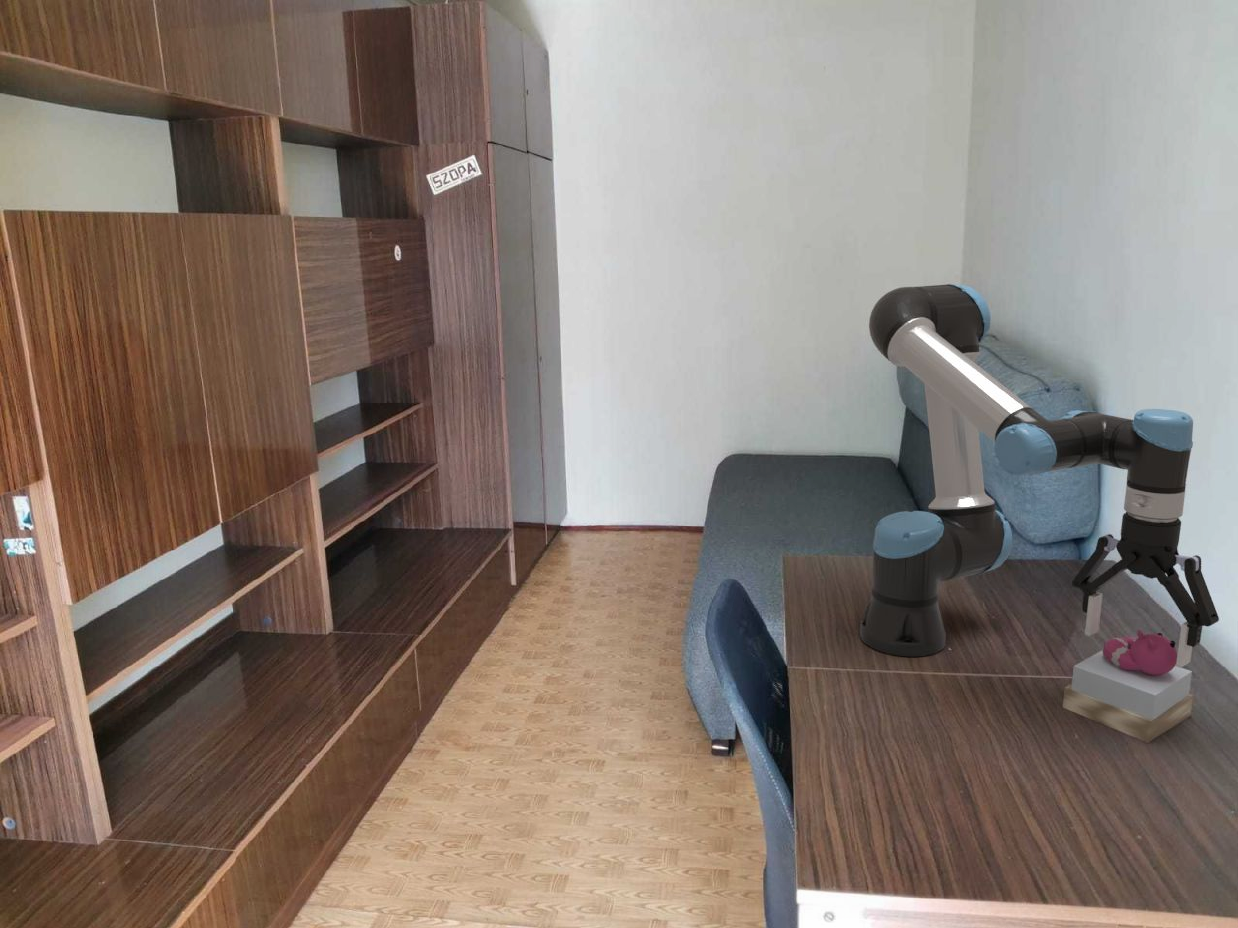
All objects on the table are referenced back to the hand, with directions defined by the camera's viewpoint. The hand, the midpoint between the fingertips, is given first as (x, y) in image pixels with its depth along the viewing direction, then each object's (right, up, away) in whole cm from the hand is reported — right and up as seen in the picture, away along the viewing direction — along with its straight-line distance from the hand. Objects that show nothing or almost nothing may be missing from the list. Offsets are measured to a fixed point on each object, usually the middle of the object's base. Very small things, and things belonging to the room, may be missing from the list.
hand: (1135, 648), depth 139 cm
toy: (+2, -3, +2) cm, 4 cm away
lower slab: (0, -11, +3) cm, 11 cm away
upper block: (0, -7, +2) cm, 7 cm away
